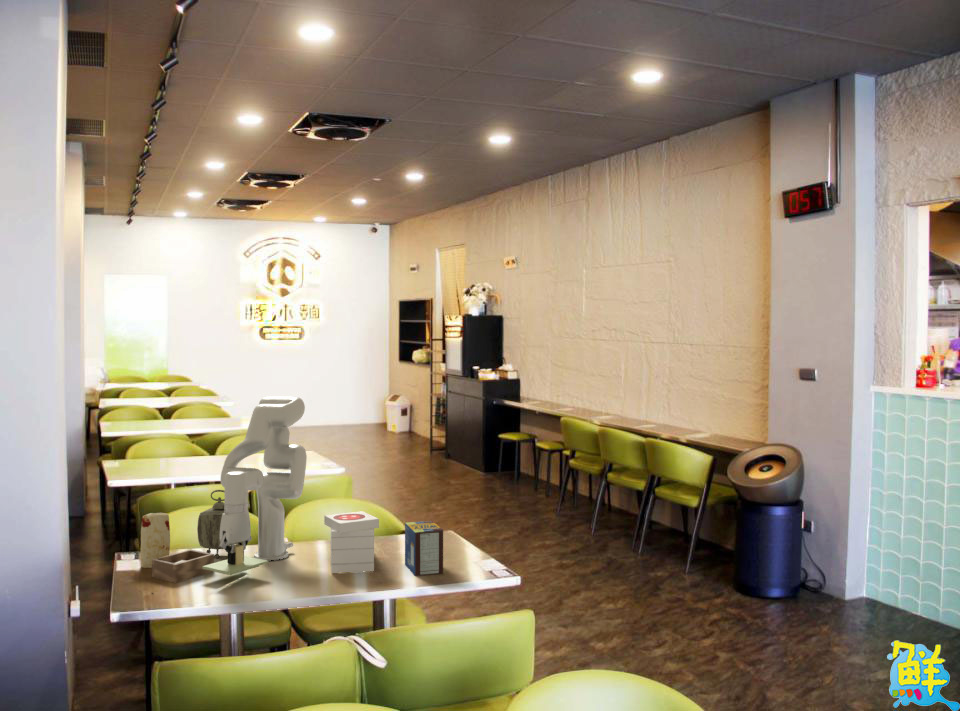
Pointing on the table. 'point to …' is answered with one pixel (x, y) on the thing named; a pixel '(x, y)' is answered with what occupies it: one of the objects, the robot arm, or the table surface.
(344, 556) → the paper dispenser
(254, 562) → the lid
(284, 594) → the table surface
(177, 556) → the box
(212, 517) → the tabletop clock
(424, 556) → the protein box
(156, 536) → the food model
